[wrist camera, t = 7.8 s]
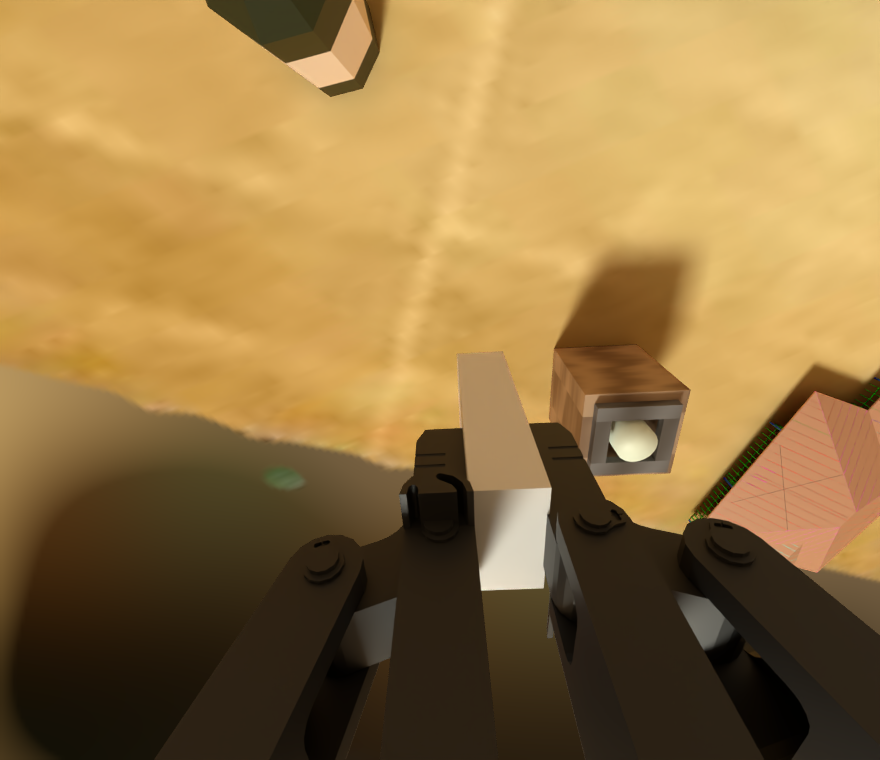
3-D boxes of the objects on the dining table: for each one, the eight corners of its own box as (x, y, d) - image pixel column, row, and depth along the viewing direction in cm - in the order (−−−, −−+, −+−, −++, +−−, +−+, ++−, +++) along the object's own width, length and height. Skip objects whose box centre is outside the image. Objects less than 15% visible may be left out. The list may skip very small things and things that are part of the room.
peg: (613, 373, 50) (661, 427, 39) (609, 402, 51) (653, 460, 41) (580, 375, 50) (619, 428, 39) (577, 403, 52) (613, 462, 41)
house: (669, 532, 64) (698, 578, 57) (819, 348, 50) (884, 377, 43) (788, 566, 68) (830, 613, 60) (960, 402, 54) (1042, 437, 46)
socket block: (636, 344, 50) (696, 394, 38) (624, 414, 54) (675, 479, 42) (554, 348, 50) (588, 400, 38) (549, 418, 54) (578, 483, 43)
